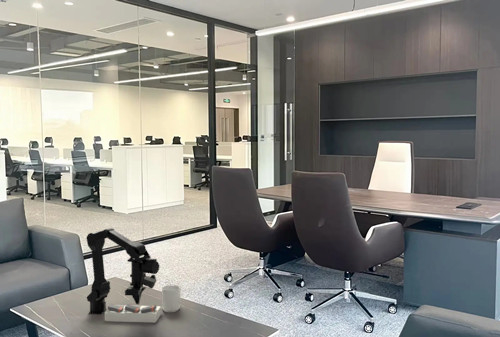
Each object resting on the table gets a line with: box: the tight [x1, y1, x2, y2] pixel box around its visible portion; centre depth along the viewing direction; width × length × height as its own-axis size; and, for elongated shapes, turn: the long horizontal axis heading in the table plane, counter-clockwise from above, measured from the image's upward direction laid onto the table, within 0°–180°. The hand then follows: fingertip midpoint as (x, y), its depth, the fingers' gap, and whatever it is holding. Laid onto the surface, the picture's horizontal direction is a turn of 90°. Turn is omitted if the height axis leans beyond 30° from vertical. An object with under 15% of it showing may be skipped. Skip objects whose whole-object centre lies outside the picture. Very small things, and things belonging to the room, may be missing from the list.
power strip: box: [104, 304, 162, 323], centre depth 204 cm, size 24×10×4 cm, turn 87°
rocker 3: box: [141, 304, 157, 313], centre depth 202 cm, size 6×3×2 cm, turn 88°
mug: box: [161, 284, 182, 313], centre depth 217 cm, size 12×9×11 cm
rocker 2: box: [124, 303, 140, 313], centre depth 202 cm, size 6×3×2 cm, turn 87°
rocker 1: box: [107, 303, 124, 312], centre depth 203 cm, size 6×3×2 cm, turn 87°
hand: (137, 304), depth 202 cm, fingers closed
